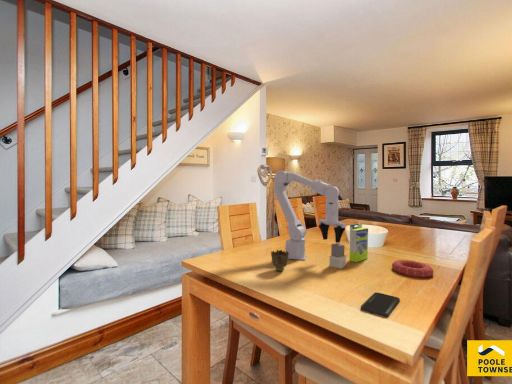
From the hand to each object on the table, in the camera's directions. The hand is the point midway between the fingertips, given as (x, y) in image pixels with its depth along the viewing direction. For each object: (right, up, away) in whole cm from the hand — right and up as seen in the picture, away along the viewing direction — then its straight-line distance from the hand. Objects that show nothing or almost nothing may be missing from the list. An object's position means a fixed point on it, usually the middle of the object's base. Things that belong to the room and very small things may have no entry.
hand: (331, 240), depth 131 cm
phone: (+3, -13, -45) cm, 46 cm away
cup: (-25, -11, -12) cm, 30 cm away
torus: (+30, -11, -14) cm, 35 cm away
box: (+14, -10, +4) cm, 18 cm away
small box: (+1, -11, -6) cm, 12 cm away
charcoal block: (+1, -6, -6) cm, 8 cm away
